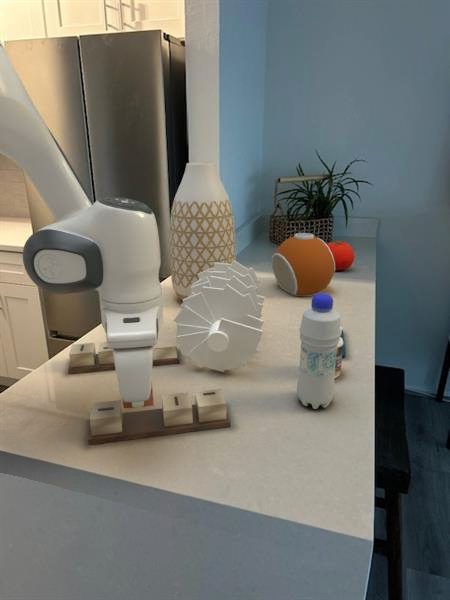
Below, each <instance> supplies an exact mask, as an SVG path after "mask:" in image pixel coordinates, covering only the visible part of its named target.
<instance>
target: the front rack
mask: <svg viewBox="0 0 450 600" xmlns="http://www.w3.org/2000/svg"><path fill="white" fill-rule="evenodd" d="M161 407H162V408H154V409H153V408H152V409H145V410H136V411H128V412H127V411H126V412H123V403H122V399H117V400H116V399H115V400H108V401H100V402H99V401H98V402H92V403H91V409H90V416H89V424H90V425H89V430H88V437H87V440H88V441H87V442H88V445H89V446H91V445H98V444H106V443H114V442H122V441H123V442H124V441H131V440H137V439H144V438H145V439H146V438H152V437H153V438H154V437H160V436H161V437H162V436H168V435H176V434H184V433H193V432H200V431H208V430H215V429H224V428H230V427H231V419H230V416H229V414H228V410H227V401H226V398H225V396H224V393H223V390H222V388H216V389H215V388H214V389H208V390H207V389H206V390H198V391H194V404H192V401H191V396H190V392H189V391H188V392H179V393H178V392H177V393H171V394H170V393H169V394H162V395H161Z"/></svg>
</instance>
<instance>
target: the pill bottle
mask: <svg viewBox="0 0 450 600" xmlns="http://www.w3.org/2000/svg"><path fill="white" fill-rule="evenodd" d="M342 328H343V327H342V326H341V325H340V329H341V333H342V330H343V329H342ZM340 336H341V335H340ZM342 352H343V340H342V338H341V337H340V341H339V343H338V344H337V353H336V363H335V373H334V379H336V378H338V377H340V375H341V371H342V361H343V360H342V359H343V357H342Z"/></svg>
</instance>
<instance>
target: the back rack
mask: <svg viewBox="0 0 450 600" xmlns="http://www.w3.org/2000/svg"><path fill="white" fill-rule="evenodd" d="M97 349H98V350H97V351H96V344H95V342H86V343H84V342H83V343H76V344H75V343H74V344H71V347H70V351H69V354H68V355H69V365H68V369H67V372H68V375H74V374H84V373H85V374H86V373H94V372H105V371H113V370H115V371H116V369H115V364H114V357H113V349H109V348H108V346H107V341H99V343H98V348H97ZM175 364H180V357H179V352H178V347H177V346H168V347H167V346H166V347H157V348H155V347H154V350H153V366H165V365H175ZM153 366H152V367H153Z"/></svg>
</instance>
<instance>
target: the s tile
mask: <svg viewBox="0 0 450 600" xmlns="http://www.w3.org/2000/svg"><path fill="white" fill-rule="evenodd" d="M153 390H154V389H153V382H152V383H151V393H150V397H149V399H148V400H146V401H144V406H142V407H141V408H144V407H153V406H154V391H153ZM133 408H134V407H133V406H132V402H124V401H123V400H122V409H123V410H125V409H133ZM136 408H137V407H135V409H136Z"/></svg>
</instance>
